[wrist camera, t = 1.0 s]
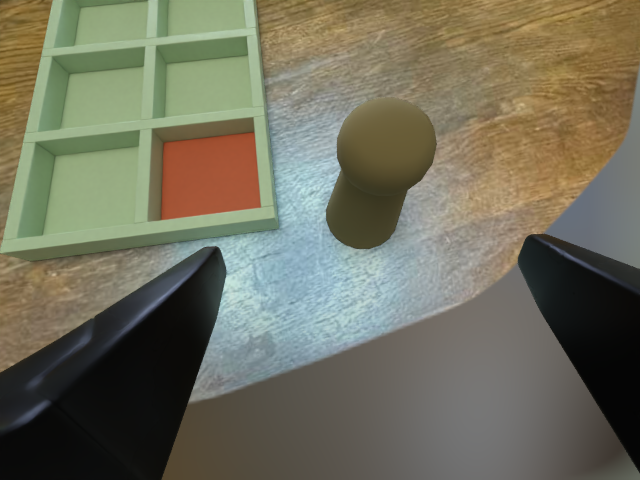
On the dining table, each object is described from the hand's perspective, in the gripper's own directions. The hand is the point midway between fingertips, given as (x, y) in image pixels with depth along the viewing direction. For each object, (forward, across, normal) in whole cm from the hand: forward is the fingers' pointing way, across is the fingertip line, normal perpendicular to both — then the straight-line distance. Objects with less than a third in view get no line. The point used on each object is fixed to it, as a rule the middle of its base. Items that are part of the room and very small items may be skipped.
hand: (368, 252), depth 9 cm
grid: (+27, +18, -4) cm, 33 cm away
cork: (+15, -1, +7) cm, 16 cm away
